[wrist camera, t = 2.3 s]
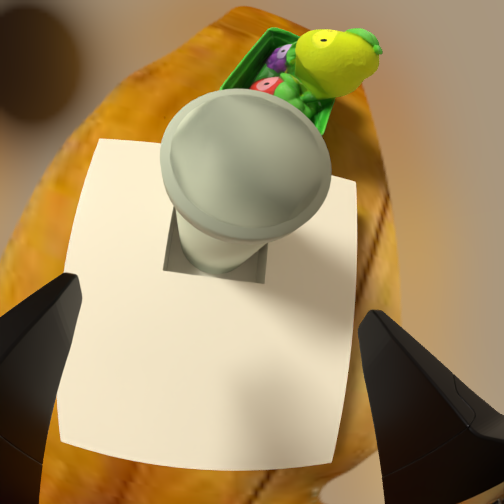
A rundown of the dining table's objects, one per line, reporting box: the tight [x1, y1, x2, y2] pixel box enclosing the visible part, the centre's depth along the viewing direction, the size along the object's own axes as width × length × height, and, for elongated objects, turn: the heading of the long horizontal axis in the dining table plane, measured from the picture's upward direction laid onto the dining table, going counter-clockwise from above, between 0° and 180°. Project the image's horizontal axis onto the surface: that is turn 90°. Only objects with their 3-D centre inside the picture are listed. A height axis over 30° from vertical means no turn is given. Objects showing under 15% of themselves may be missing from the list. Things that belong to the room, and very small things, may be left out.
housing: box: [57, 139, 357, 471], centre depth 17 cm, size 20×18×4 cm
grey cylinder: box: [160, 89, 332, 274], centre depth 14 cm, size 5×5×11 cm
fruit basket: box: [220, 28, 382, 136], centre depth 18 cm, size 11×9×11 cm
